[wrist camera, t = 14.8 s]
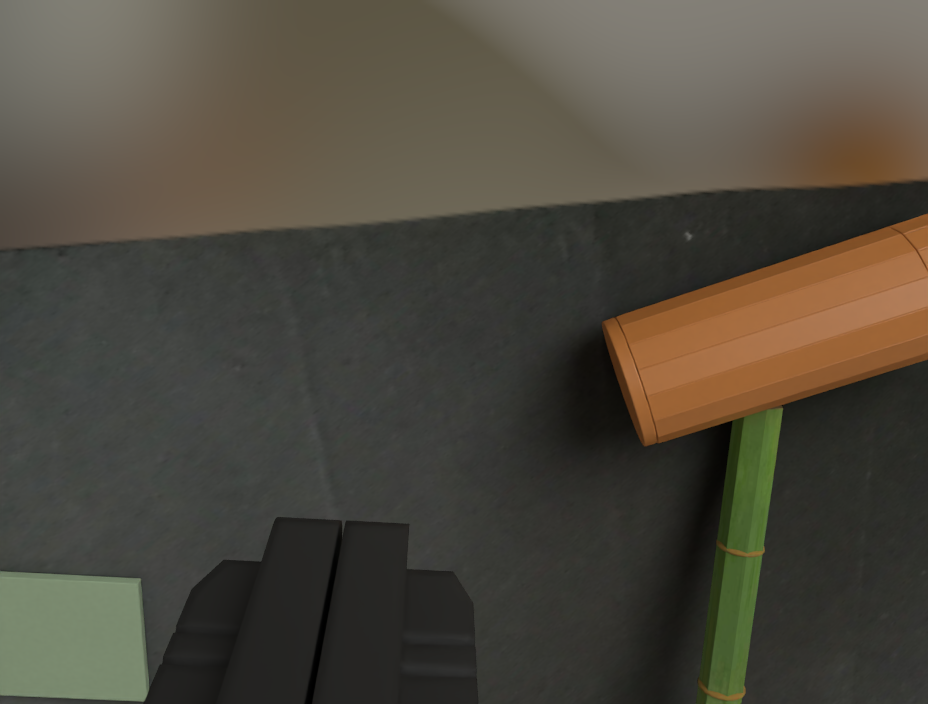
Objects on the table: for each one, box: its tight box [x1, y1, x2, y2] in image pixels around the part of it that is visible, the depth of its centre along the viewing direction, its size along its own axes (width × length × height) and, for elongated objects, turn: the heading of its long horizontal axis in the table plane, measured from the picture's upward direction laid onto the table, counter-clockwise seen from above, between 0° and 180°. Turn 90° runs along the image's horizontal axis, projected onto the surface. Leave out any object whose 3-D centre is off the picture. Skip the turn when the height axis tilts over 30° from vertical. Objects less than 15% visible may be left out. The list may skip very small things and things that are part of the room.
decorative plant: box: [696, 405, 783, 704], centre depth 45 cm, size 6×8×30 cm
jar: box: [602, 214, 928, 446], centre depth 37 cm, size 6×6×15 cm
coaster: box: [0, 571, 149, 702], centre depth 46 cm, size 8×8×1 cm
